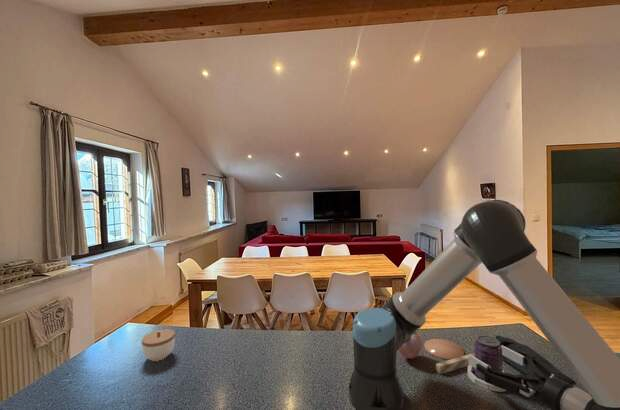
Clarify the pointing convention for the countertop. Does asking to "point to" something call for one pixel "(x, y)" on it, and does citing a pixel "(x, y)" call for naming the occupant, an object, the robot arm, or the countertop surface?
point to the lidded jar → (158, 344)
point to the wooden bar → (453, 364)
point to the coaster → (443, 349)
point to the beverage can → (488, 353)
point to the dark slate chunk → (527, 352)
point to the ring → (481, 382)
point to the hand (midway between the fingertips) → (485, 354)
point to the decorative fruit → (411, 346)
